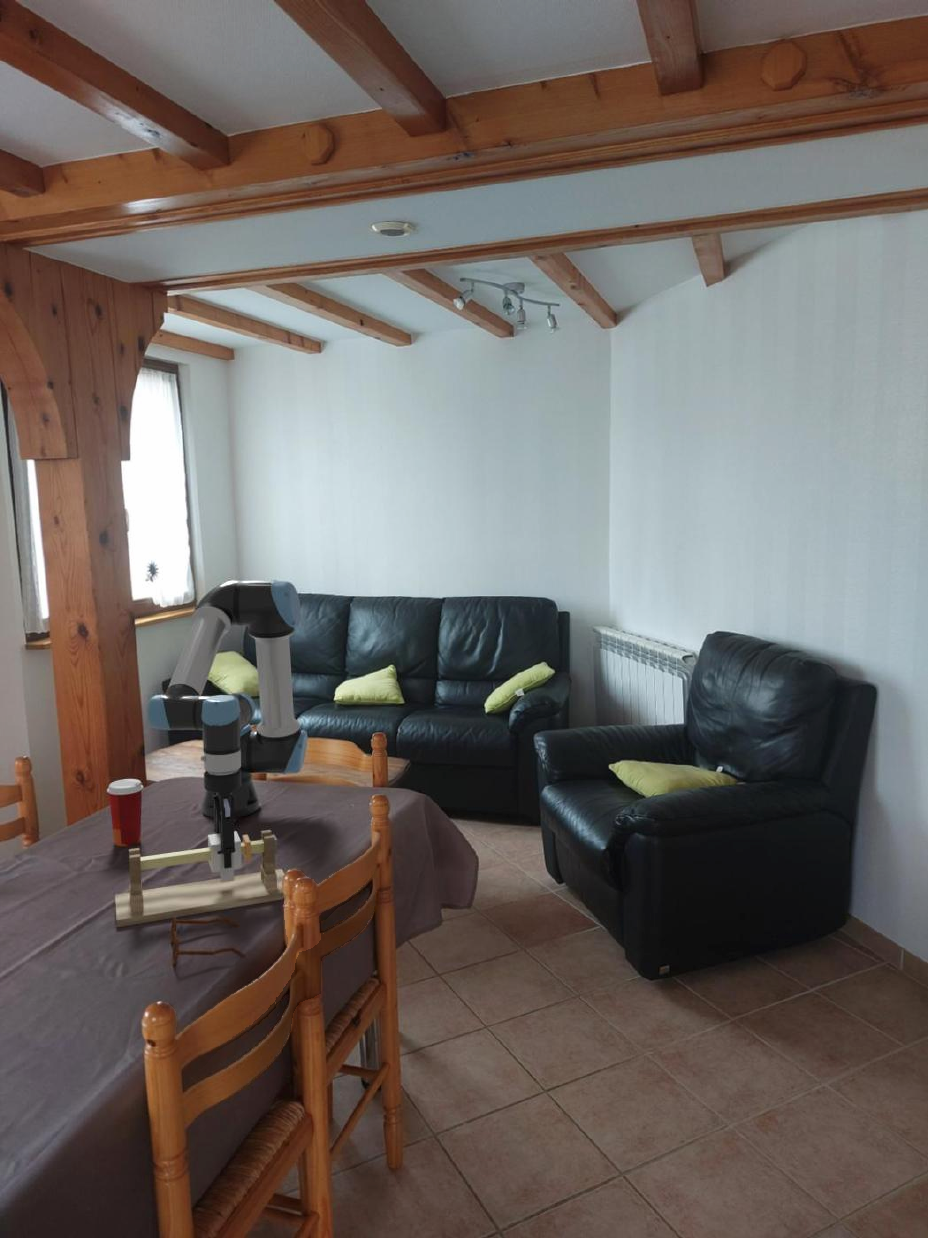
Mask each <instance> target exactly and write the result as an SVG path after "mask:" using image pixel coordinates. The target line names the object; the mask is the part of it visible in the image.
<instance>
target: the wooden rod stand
mask: <svg viewBox="0 0 928 1238" xmlns="http://www.w3.org/2000/svg"><path fill="white" fill-rule="evenodd" d="M260 833H261V835H260V836H261V837H260V838H261V839H260V840H264V852H261V864H260V866H259V867H260V871H258V872H252V873H246V874H245V873H244V874H237V875H234V881H229V882H222V883H221V877H220V878H214V879H213V878H212V879H207V880H201V881H194V882H188V883H183V884H174V885H169V886H163V887H155V888H150V889H143V883H142V870H141V860H140V857H141V854H140V847H137V848H135V847H134V848H130V849H128V859H129V879H130V880H129V883H130V884H129V885H128V886H129V890H128V891H129V892H125V893H117V894H114V899H115V900H114V901H115V902H114V903H115V904H114V905H115V919H116V920H115V921H116V928H122V927H127V926H132V925H133V926H134V925H140V924H144V923H151V922H155V921H163V920H169V919H173V918H174V917H176V918H179V917H186V916H192V915H198V914H204V913H209V912H216V911H222V910H228V909H232V908H233V909H234V908H238V907H239V908H240V907H245V906H251V905H256V904H263V903H268V902H275V901H280V900H284V899H283V892H282V880H283V876H284V875H285V873H284V871H283V869H282V868H278V869H276V854H275V840H274V836H272V835H273V834H272V830H271V829H267V830H261V831H260Z"/></svg>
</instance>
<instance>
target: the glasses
mask: <svg viewBox="0 0 928 1238" xmlns="http://www.w3.org/2000/svg"><path fill="white" fill-rule="evenodd" d="M177 918H178V917H174V918H172V921H171V922H172V923H171V928H170V936H169V941H170V944H173V949H172V956H171V957H172V958H171V959H172V961H171V962H172V966H173V967H175V966H176V965H177V960H178V957H179V956H215V955H217V954H220V953H225V952H226V953H227V952H232V953H234V954H235V955H237V956H239V957H241V958H244V957H246V956H247V954H245V953H243V952H242V951H240V950H238V949H237V948H235V947H223V948H218V949H216V950H179V948H180V938H179V937H178V935H177V933H178V932H177V924H181V925H182V924H186V925H187V924H188V925H189V924H190V925H195V924H196V925H210V924H213V923H219V922H220V923H221V922H225V923H227V924H229V925H231V926H233V927H237V926H240V924H239V923H237V922H235V921H232V920H230V919H229V918H227V917H221V918H218V917H217V918H213V919H207V920H206V919H205V920H202V919H200V920H199V919H198V920H197V919H177Z"/></svg>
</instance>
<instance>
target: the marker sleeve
mask: <svg viewBox="0 0 928 1238" xmlns="http://www.w3.org/2000/svg"><path fill="white" fill-rule="evenodd" d="M234 839H235V852H234V870H240V869H242V855H241V843H242V841H241V838H240V836H239V834H238V832H237V831H236V830H234ZM208 847H210V849H211V860H208V864H209V868H210V870H211V873H212V874H214V873H220V854H218V853H217V851H220V850H221V843H220V833H219V834H216V833H213V834H208V835H207V848H208Z"/></svg>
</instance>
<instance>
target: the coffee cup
mask: <svg viewBox="0 0 928 1238" xmlns="http://www.w3.org/2000/svg"><path fill="white" fill-rule="evenodd" d="M143 789H144V785H143V784H142V782H141V780H139V779H135V778H124V779H119V780H118V779H117V780H115V781H113V782H111V783H110V784H108V788H107V789H106V792H107V793H108V799H109V806H110V814H111V815H110V816H111V817H110V818H111V824H112V833H113V841H114V845H115V846H117V847H122V848H124V847H125V848H126V847H132V846H135V845H137V844H139V843H141V835H142V803H143V802H142V799H143V798H142V797H143V796H142V793H143Z"/></svg>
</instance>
